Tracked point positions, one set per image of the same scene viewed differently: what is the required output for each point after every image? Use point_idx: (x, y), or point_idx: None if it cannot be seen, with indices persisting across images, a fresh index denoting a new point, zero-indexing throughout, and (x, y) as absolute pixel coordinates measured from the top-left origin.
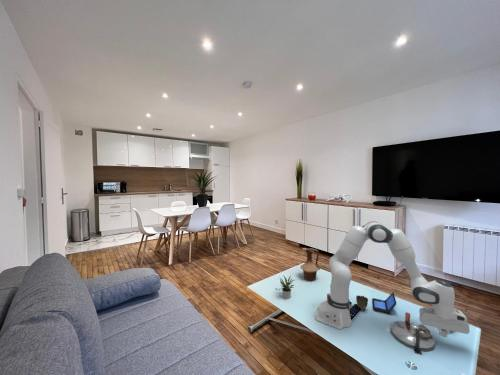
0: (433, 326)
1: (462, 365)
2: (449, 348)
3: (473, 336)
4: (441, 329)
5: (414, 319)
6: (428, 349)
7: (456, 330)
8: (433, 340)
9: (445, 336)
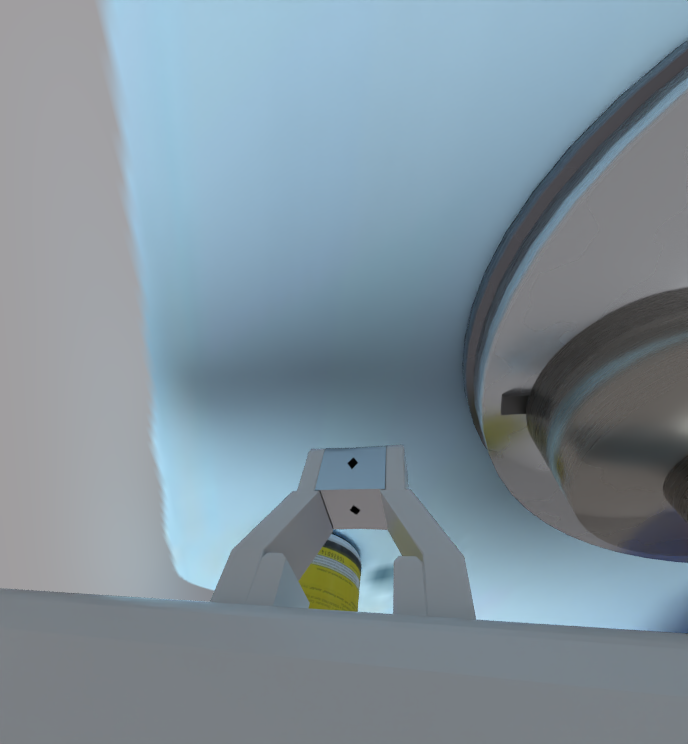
0: (675, 670)
1: (185, 6)
2: (316, 344)
3: (174, 541)
4: (345, 547)
5: (521, 588)
6: (677, 72)
7: (42, 648)
8: (510, 339)
9: (330, 453)
